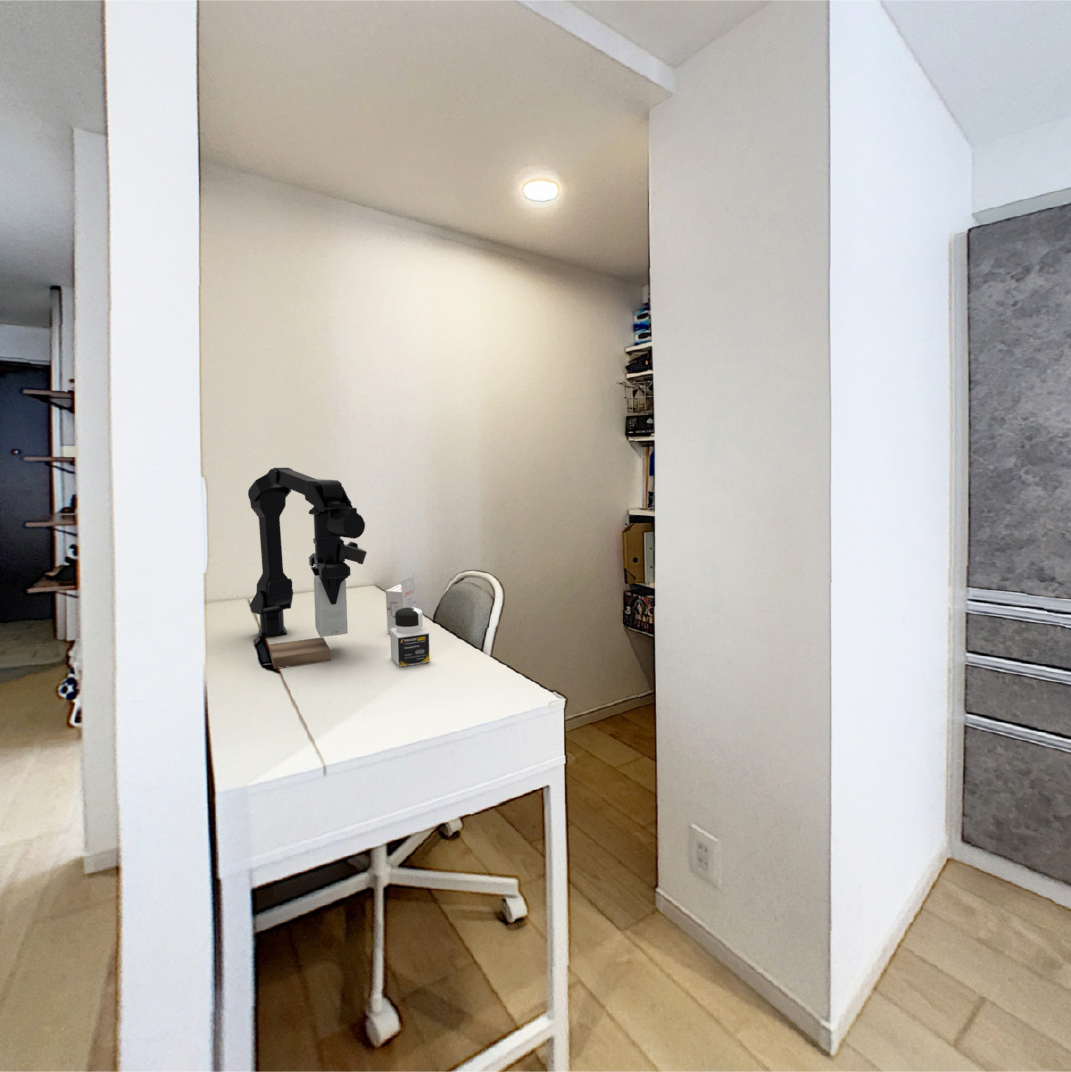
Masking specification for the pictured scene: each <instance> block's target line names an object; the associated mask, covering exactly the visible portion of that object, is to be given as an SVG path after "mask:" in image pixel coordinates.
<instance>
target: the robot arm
mask: <svg viewBox="0 0 1071 1072" xmlns="http://www.w3.org/2000/svg"><path fill="white" fill-rule="evenodd" d="M342 485H343V484H342V483H341V481H339V480H337V479H336V480H335V479H322V478H321V479H319V478H318V479H317V478H315V477H312V476H309V475H306V474H304V473H302V472H298V471H296V470H293V469H292V468H290V467H273V468H271V469H269V470H268V472H267V473H266V474H264V475H263V476H261V477H259V478H257V479H255V480H254V482H253V483H252V485H250V487H249V488H248V492H247V494H248V499H249V502H250V503H249V504H250V508H251V509H252V511H253V512H254V513H255V514H256V516H257V517H258V525H259V527H258V529H259V539H260V540H259V541H260V554H261V556H260V557H261V567H262V568H261V569H262V573H261V575H260V577H259V579H258V580H257V583H256V593H255V594H254V596H253V598H252V600H251V602H249V603H250V604H249V607H250V612H251V613H252V614H256V615H259V624H260V625H259V626H260V629H258V635H259V638H266V637H265V636H269V637H274V636H283V635H287V634H288V631H287V629H286V627H285V618H284V617H285V616H284V611H285V610H289V609H291V608H292V604H293V603H292V602H293V597H294V590H293V589H294V588H293V580H292V579H291V578H288V576H287V575H286V574H285V572H284V565H283V548H282V545H283V544H282V533H281V521H280V520H281V519H280V518H281V515H282V514H283V511H284V509H285V507H286V504H287V503H286V501H287V500H286V498H287V497H288V496H289V495H290V493H291V492H292V491H294V492H296V493H298V494H301V495H303V496H304V500H305V501H306V502H308V503H309V504H310V505H312V506H313V507H311V509H309V510H308V514H309V515H312V516H313V527H314V529H313V530H314V533H313V534H314V537H313V539H312V540H313V541H312V542H313V544H314V552H313V553H312V554H310V555H309V557H308V562H309V563H308V564H309V566H310V569H311V571H312V574H313V576H318V575H320V576H319V578H320V580H321V583H322V585H323V587H324V589H325V592H326V594H327V596H328V599H329V601H330V603H331V605H334V604H336V602H337V598H338V594H339V589H340V585H341V583H342V582H343V581H344V580H346V579H348V578H349V577H350V576H351V566H349V565H348V564H347V563H346V560H347V561H351V562H355V563H357V564H359V565H364V562H365V559H366V556H367V553H368V552H367V551H366V550H364V549H363V548H360V547H359V545H358V543H356V542H354V541H349V542H348V543H347V544H345V540H344V539H342V538H346V539H347V538H348V539H353V540H355V539H358V538H360V537H361V536H362V535H363V534H364V532H365V529H366V522H365V521H364V518H363V516H362V515H361V514H360V513H358V510H357V507H353V505H352V501H351V500H350V498H349V496H348V494H347V492H346V490H345V489H344V486H342Z"/></svg>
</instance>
